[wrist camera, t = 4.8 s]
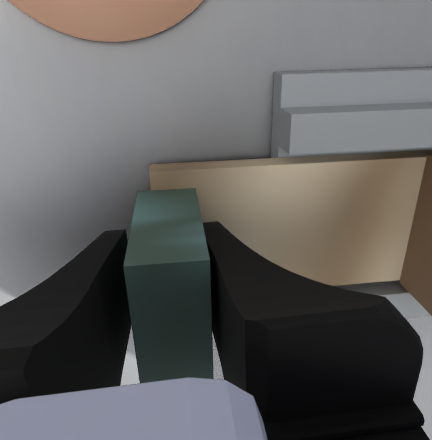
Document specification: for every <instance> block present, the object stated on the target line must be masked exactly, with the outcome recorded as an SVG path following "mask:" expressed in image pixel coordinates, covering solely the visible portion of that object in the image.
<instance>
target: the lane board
mask: <svg viewBox="0 0 432 440" xmlns="http://www.w3.org/2000/svg"><path fill="white" fill-rule="evenodd" d="M417 150H432V67H426V68H392V69H358V70H325V71H291V72H274V86H273V110H272V133H271V157H270V158H283V157H302V156H321V155H340V154H359V153H379V152H398V151H417ZM399 281H400V280H395V281H383V282H372V283H360V284H349V285H337V286H335V287H339V288H342V289H346V290H351V291H357V292H362V293H368V294H373V295H379V296H384V297H386V298H387V299H388V300H389V301H390V302H391V303H392V304H393V305H394V306H395V307H396V308H397V309H398V311H399V312H400V313H401V314H402V315H403V316H404V318H409V317H419V316H429V315H430V314H429V313H428V312H427V311H426V310H425V309H424V308H423V306H422V305H421V304H420V303H419V302H418V301H417V300H416V299H415V298H414V297H413V296H412V295H411V294H410V293H409V292H408V291H407V290H406V289H405V288H404V287H403V286H402V285H401V284H400V283H399Z"/></svg>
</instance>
